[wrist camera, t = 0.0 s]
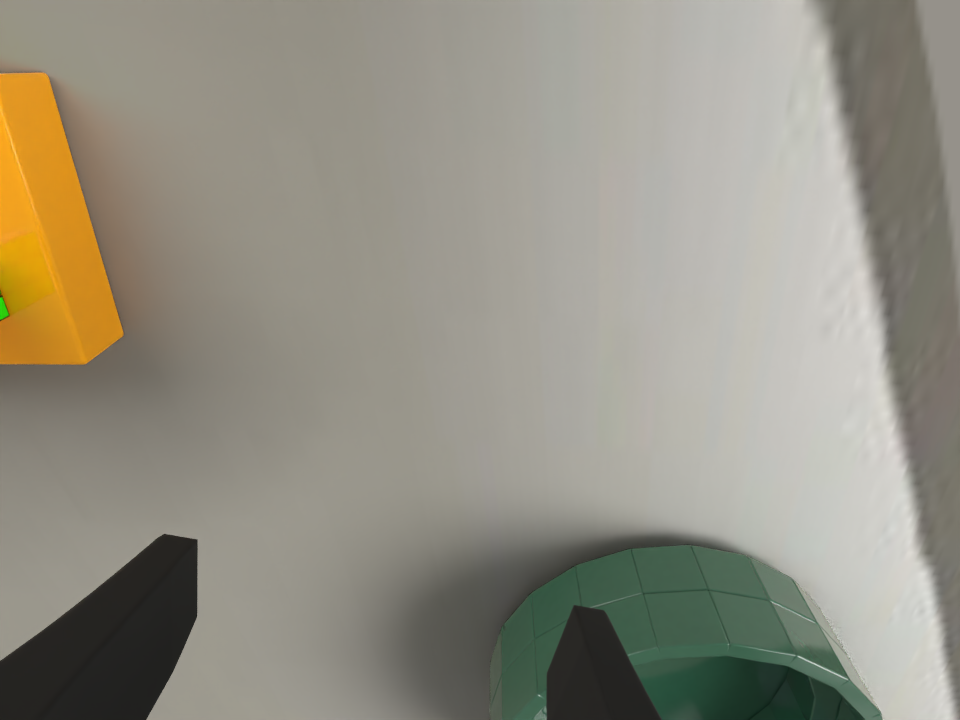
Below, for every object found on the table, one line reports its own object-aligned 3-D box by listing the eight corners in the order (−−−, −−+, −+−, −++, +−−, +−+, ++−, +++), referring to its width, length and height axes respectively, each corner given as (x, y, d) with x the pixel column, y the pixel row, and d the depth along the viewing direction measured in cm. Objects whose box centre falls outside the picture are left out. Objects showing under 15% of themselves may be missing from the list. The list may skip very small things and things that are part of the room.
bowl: (741, 774, 30) (784, 898, 26) (463, 730, 29) (457, 851, 25) (883, 569, 24) (971, 685, 20) (536, 505, 23) (546, 612, 19)
